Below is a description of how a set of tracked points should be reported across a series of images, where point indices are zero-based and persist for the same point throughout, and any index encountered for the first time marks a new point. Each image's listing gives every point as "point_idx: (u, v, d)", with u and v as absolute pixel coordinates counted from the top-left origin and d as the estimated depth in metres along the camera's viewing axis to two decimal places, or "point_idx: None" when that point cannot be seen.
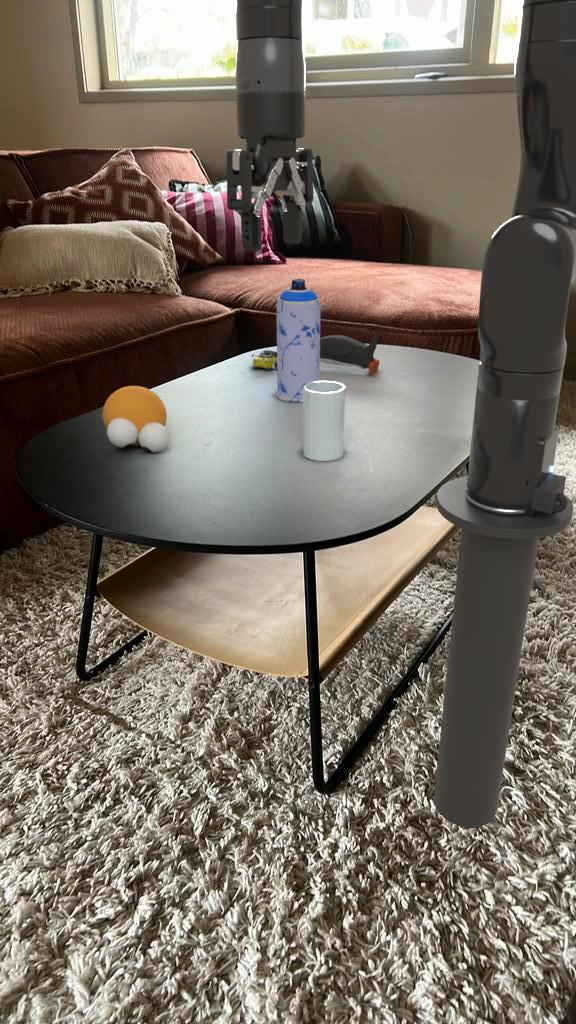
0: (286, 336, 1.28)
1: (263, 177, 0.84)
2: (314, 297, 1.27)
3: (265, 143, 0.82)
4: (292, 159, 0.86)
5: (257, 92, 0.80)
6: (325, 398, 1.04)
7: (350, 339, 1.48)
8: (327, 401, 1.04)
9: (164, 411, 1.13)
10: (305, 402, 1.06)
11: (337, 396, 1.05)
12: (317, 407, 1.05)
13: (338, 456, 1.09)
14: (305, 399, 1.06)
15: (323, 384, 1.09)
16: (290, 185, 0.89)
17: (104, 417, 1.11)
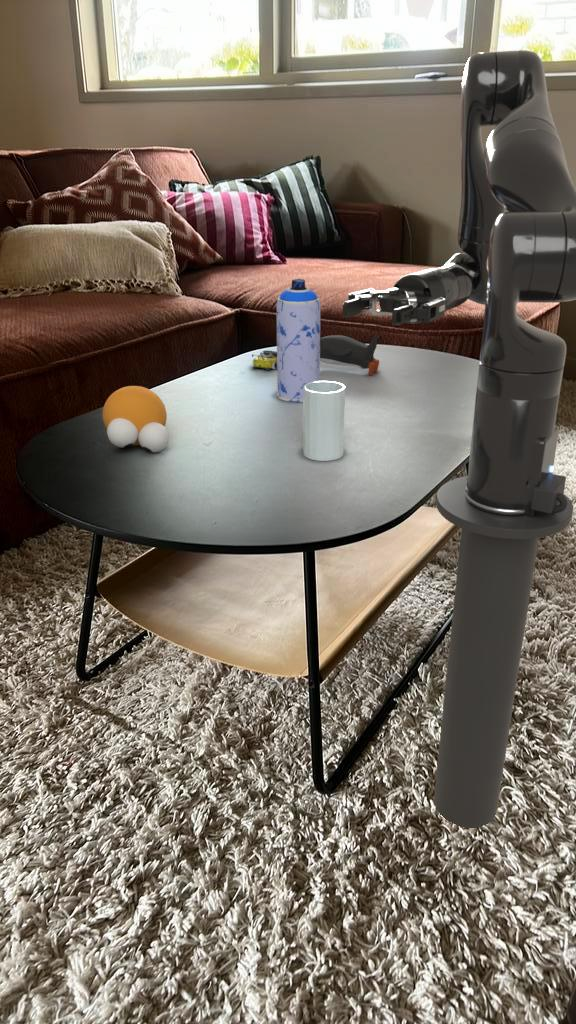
0: (286, 336, 1.28)
1: (380, 296, 1.16)
2: (314, 297, 1.27)
3: None
4: (411, 290, 1.15)
5: None
6: (325, 398, 1.04)
7: (350, 339, 1.49)
8: (327, 401, 1.04)
9: (164, 411, 1.13)
10: (305, 402, 1.06)
11: (337, 396, 1.05)
12: (317, 407, 1.05)
13: (338, 456, 1.09)
14: (305, 399, 1.06)
15: (323, 384, 1.09)
16: None
17: (104, 417, 1.11)
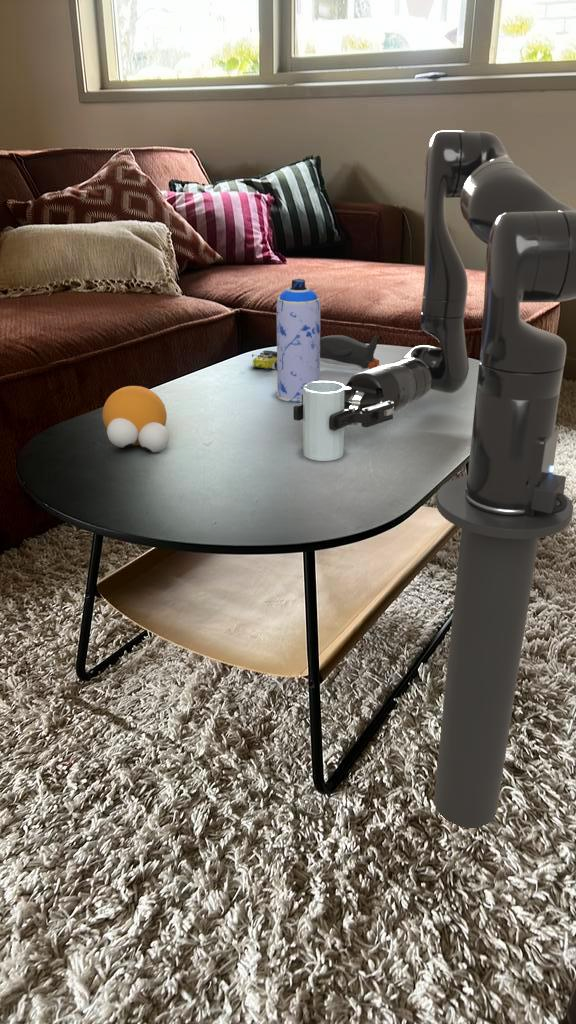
0: (286, 336, 1.28)
1: None
2: (314, 297, 1.27)
3: None
4: (362, 390, 1.11)
5: None
6: (325, 398, 1.04)
7: (350, 338, 1.49)
8: (327, 401, 1.04)
9: (164, 411, 1.13)
10: (305, 402, 1.06)
11: (337, 396, 1.05)
12: (317, 407, 1.05)
13: (338, 456, 1.09)
14: (305, 399, 1.06)
15: (323, 384, 1.09)
16: None
17: (104, 417, 1.11)
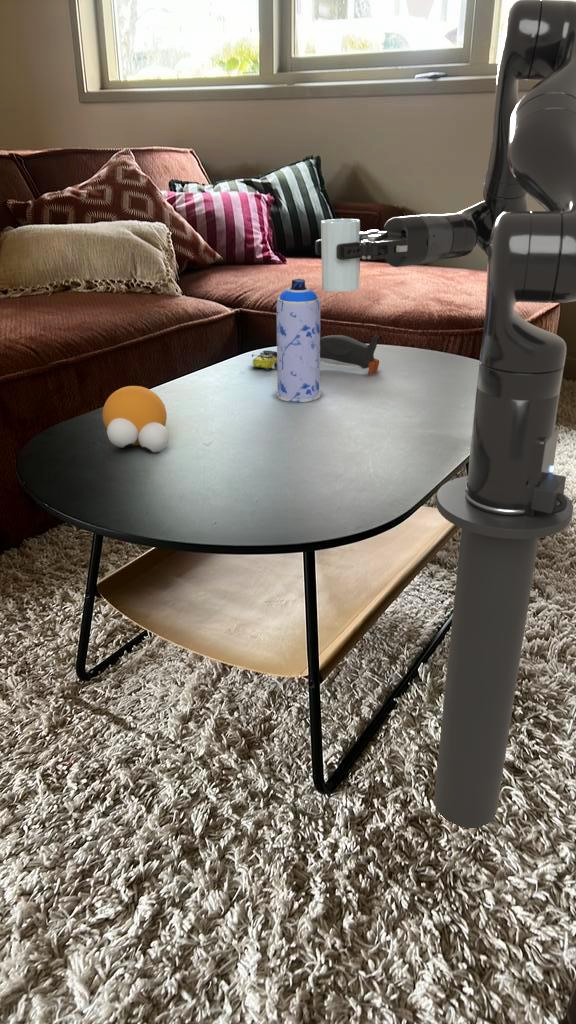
0: (286, 336, 1.28)
1: None
2: (314, 297, 1.27)
3: None
4: (386, 231, 1.18)
5: None
6: (334, 228, 1.13)
7: (350, 338, 1.49)
8: (336, 231, 1.13)
9: (164, 411, 1.13)
10: (321, 234, 1.16)
11: (346, 227, 1.13)
12: (328, 237, 1.14)
13: (349, 289, 1.17)
14: (321, 231, 1.15)
15: (345, 221, 1.17)
16: None
17: (104, 417, 1.11)
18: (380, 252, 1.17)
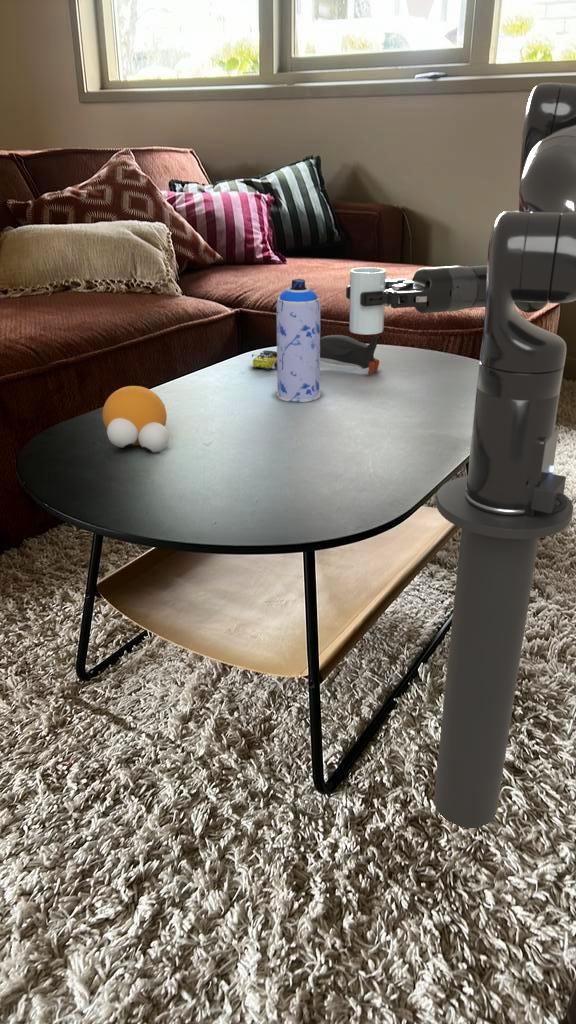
0: (286, 336, 1.28)
1: None
2: (314, 297, 1.27)
3: None
4: (412, 281, 1.28)
5: None
6: (360, 277, 1.25)
7: (351, 338, 1.49)
8: (361, 280, 1.25)
9: (164, 411, 1.13)
10: (350, 281, 1.28)
11: (371, 277, 1.24)
12: (354, 285, 1.26)
13: (371, 332, 1.28)
14: (350, 279, 1.27)
15: (375, 270, 1.29)
16: None
17: (104, 417, 1.11)
18: (403, 300, 1.28)
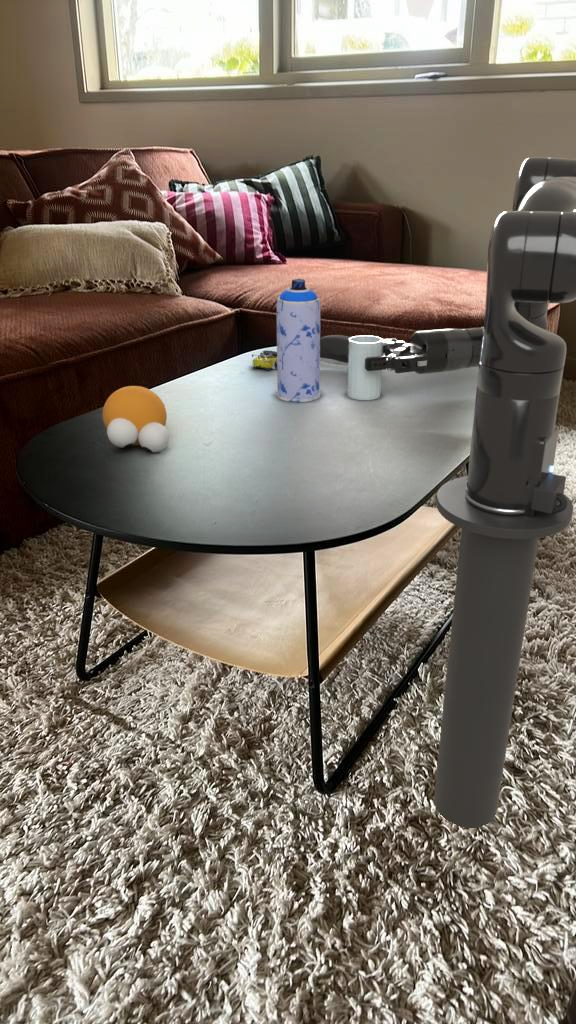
0: (286, 336, 1.28)
1: None
2: (314, 297, 1.27)
3: (407, 343, 1.37)
4: (409, 344, 1.33)
5: None
6: (358, 347, 1.30)
7: None
8: (359, 350, 1.30)
9: (164, 411, 1.13)
10: (348, 349, 1.33)
11: (368, 347, 1.29)
12: (352, 354, 1.31)
13: (369, 398, 1.33)
14: None
15: (372, 338, 1.34)
16: None
17: (104, 417, 1.11)
18: (403, 363, 1.32)
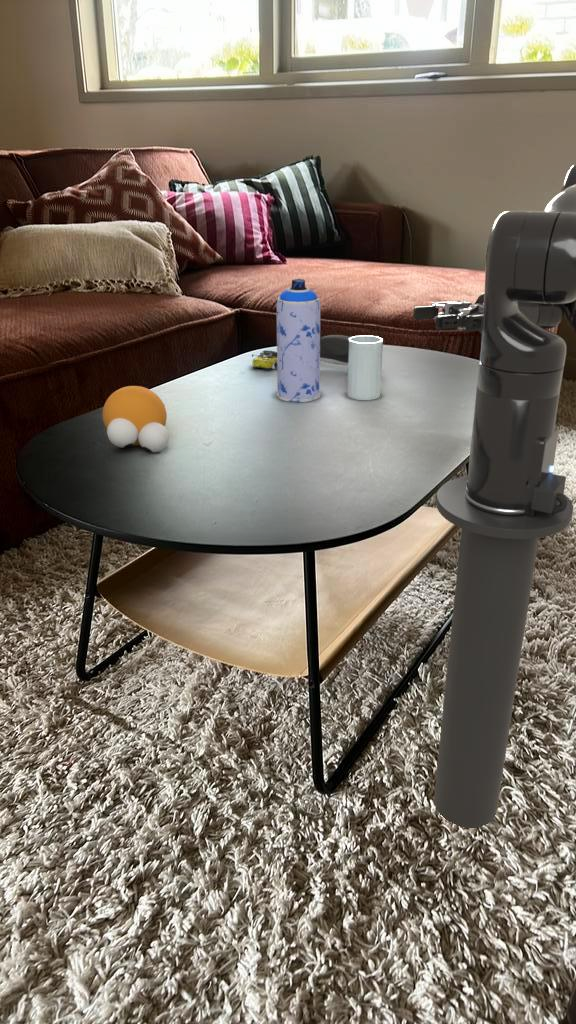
0: (286, 336, 1.28)
1: None
2: (314, 297, 1.27)
3: None
4: (477, 304, 1.33)
5: None
6: (358, 347, 1.30)
7: None
8: (359, 350, 1.30)
9: (164, 411, 1.13)
10: (348, 349, 1.33)
11: (368, 347, 1.29)
12: (352, 354, 1.31)
13: (369, 398, 1.33)
14: None
15: (372, 338, 1.34)
16: None
17: (104, 417, 1.11)
18: (472, 323, 1.33)
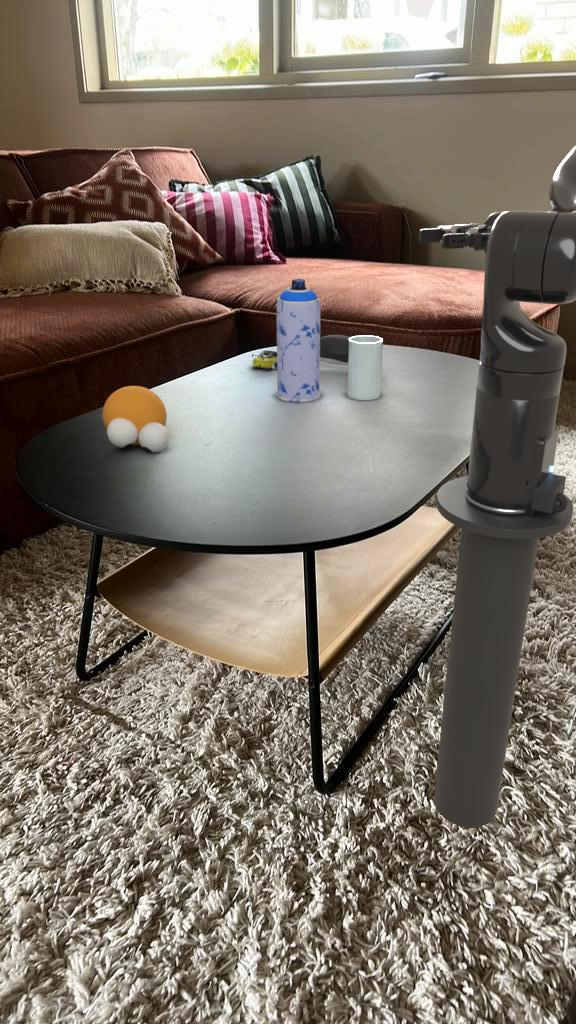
0: (286, 336, 1.28)
1: None
2: (314, 297, 1.27)
3: None
4: None
5: None
6: (358, 347, 1.30)
7: None
8: (359, 350, 1.30)
9: (164, 411, 1.13)
10: (348, 349, 1.33)
11: (368, 347, 1.29)
12: (352, 354, 1.31)
13: (369, 398, 1.33)
14: None
15: (372, 338, 1.34)
16: None
17: (104, 417, 1.11)
18: (480, 243, 1.27)
